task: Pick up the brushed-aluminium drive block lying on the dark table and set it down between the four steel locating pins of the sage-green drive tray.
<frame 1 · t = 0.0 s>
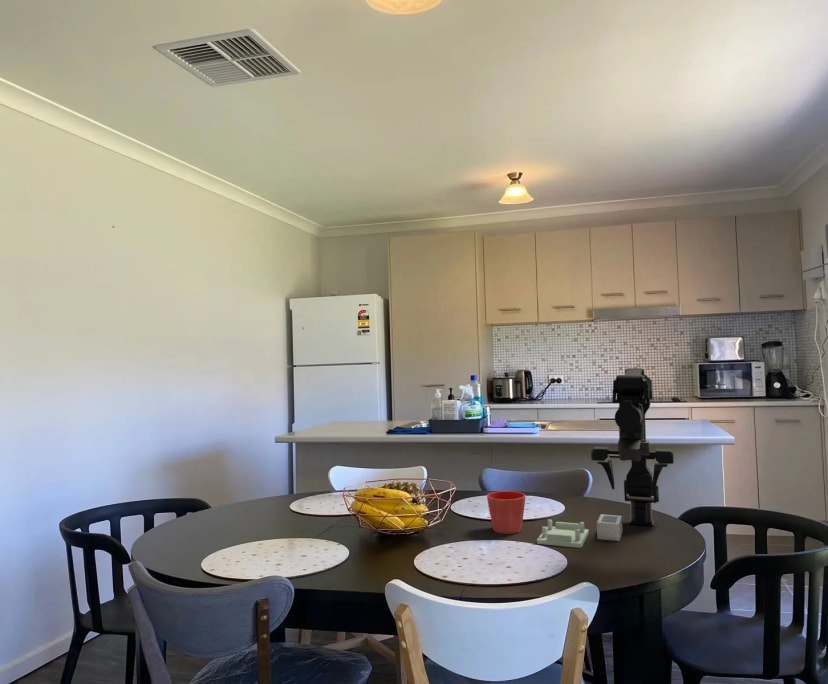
hand: (633, 490, 151), 15 cm above the table, fingers open, 9 cm apart
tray: (563, 538, 163), on the table
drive: (610, 536, 165), on the table
flower pot: (506, 530, 172), on the table
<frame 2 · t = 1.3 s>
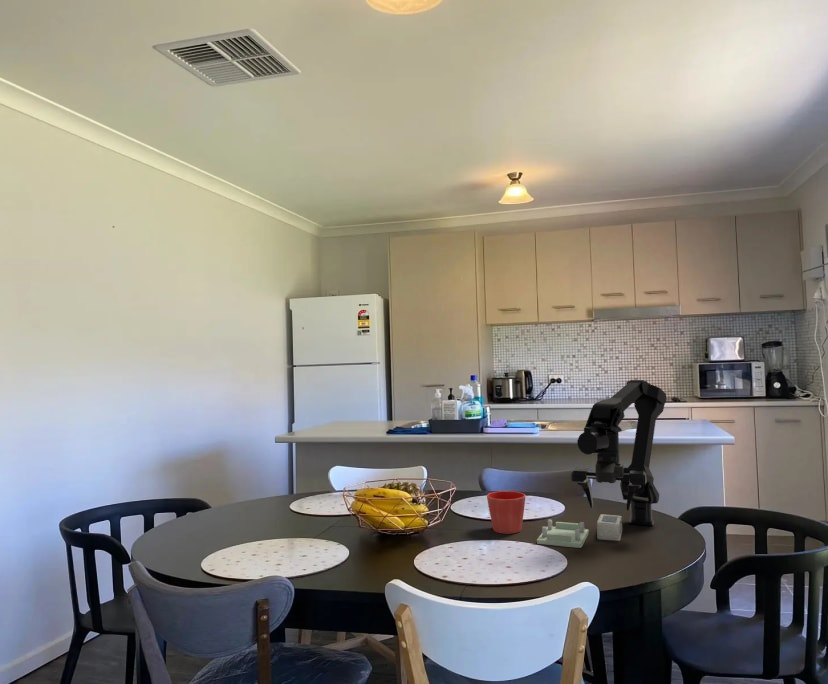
hand: (609, 508, 165), 7 cm above the table, fingers open, 9 cm apart
nothing on the table moved.
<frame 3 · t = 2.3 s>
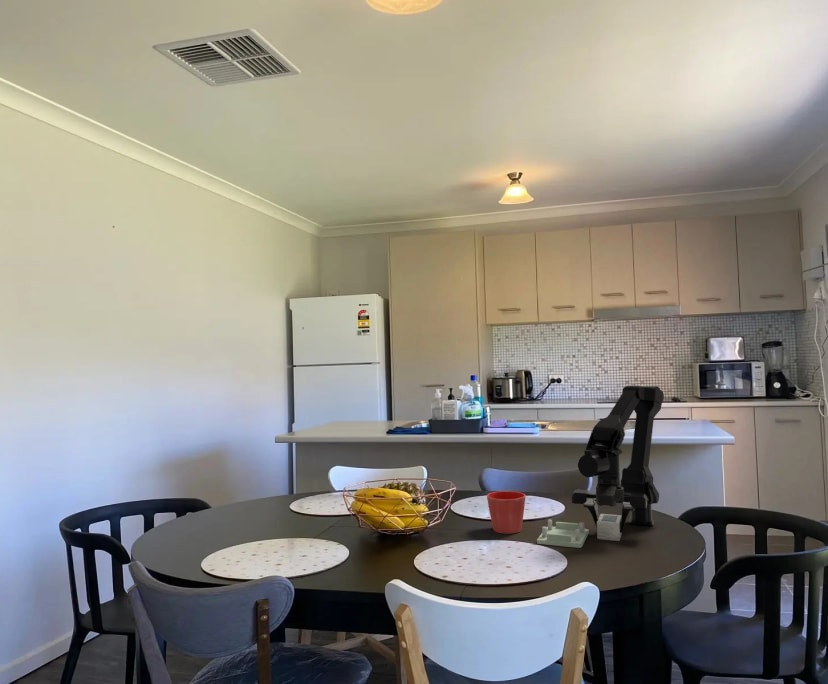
hand: (609, 531, 165), 1 cm above the table, fingers closed on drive, 5 cm apart
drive: (610, 535, 165), on the table, touching gripper
everything else where it was.
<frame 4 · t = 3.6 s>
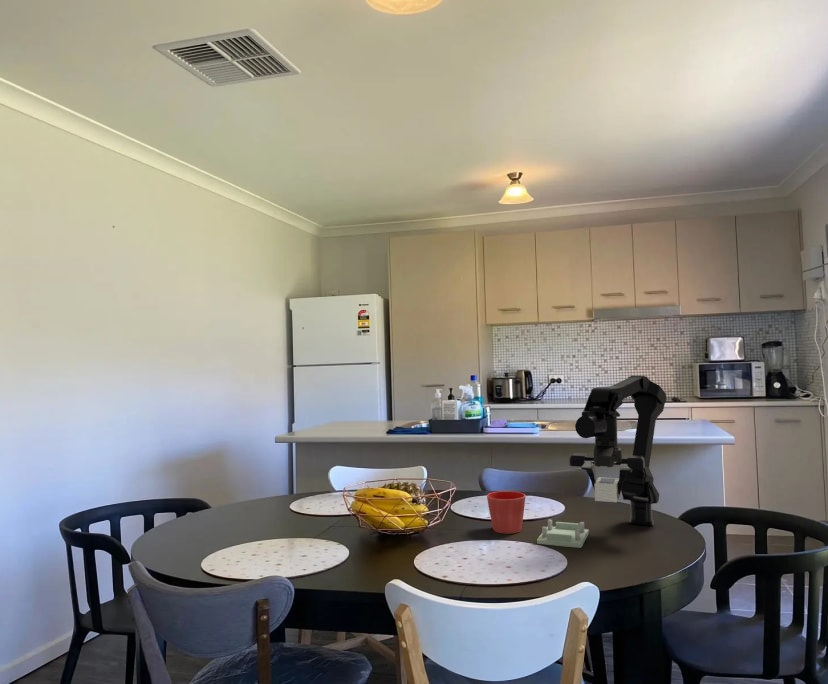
hand: (607, 493, 165), 11 cm above the table, fingers closed on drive, 5 cm apart
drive: (607, 497, 165), point 10 cm above the table, touching gripper
everything else where it was.
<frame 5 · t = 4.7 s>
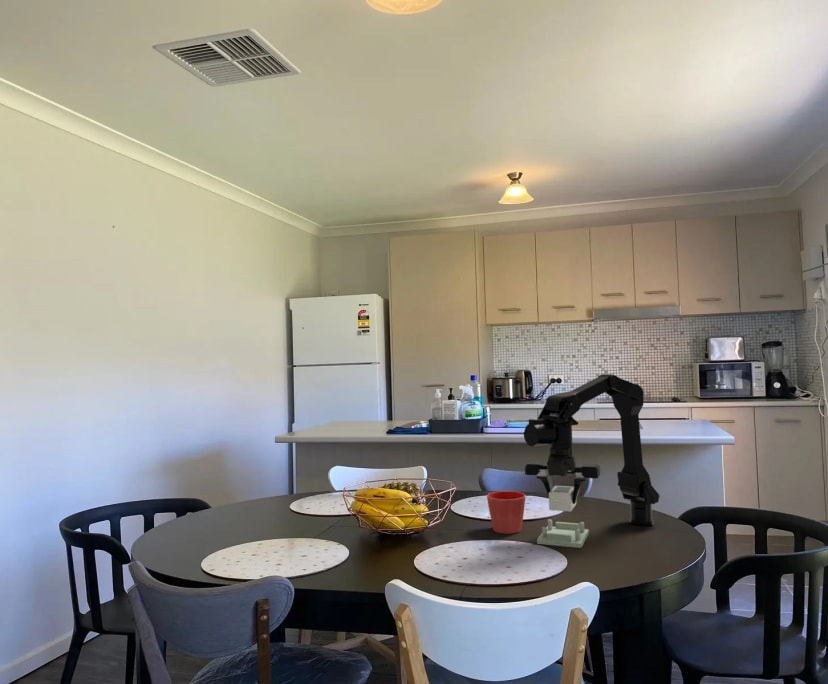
hand: (563, 502, 163), 9 cm above the table, fingers closed on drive, 5 cm apart
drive: (563, 506, 163), point 8 cm above the table, touching gripper
everything else where it was.
when the fingers open (4 cm above the table, at t = 6.4 s): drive drops 2 cm, resting on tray.
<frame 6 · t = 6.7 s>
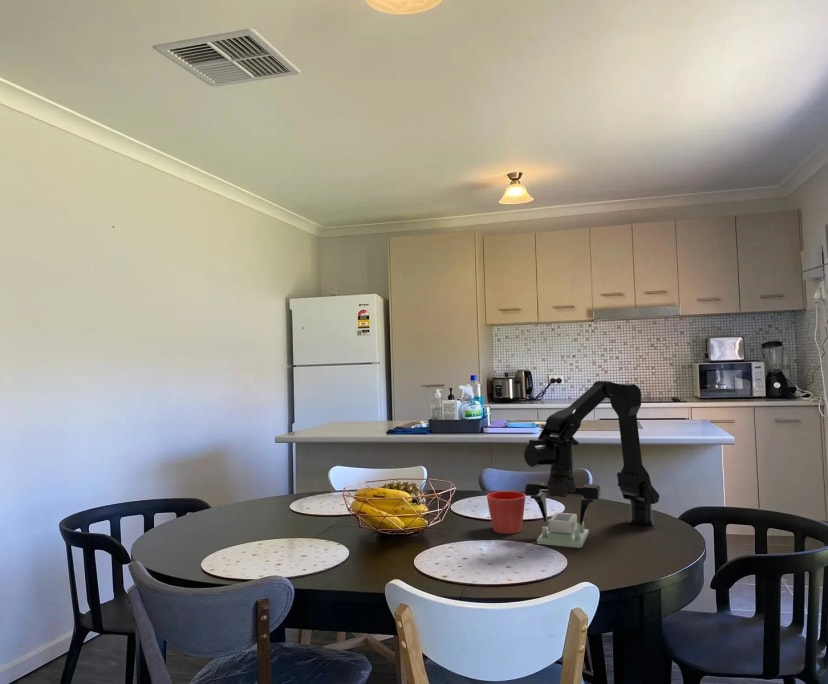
hand: (563, 522, 163), 4 cm above the table, fingers open, 9 cm apart
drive: (563, 534, 163), point 1 cm above the table, touching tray
everything else where it was.
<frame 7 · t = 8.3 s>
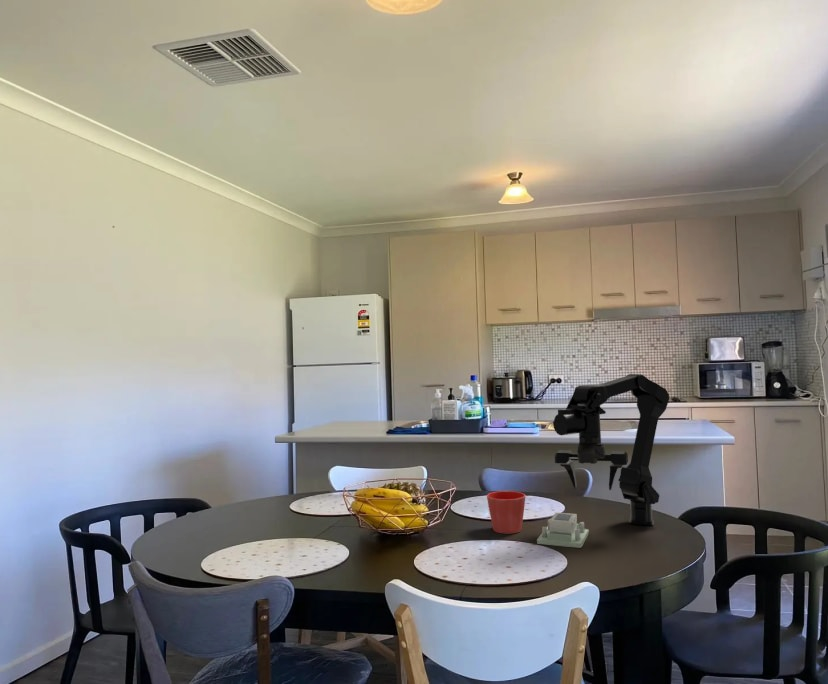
hand: (592, 489, 169), 11 cm above the table, fingers open, 9 cm apart
nothing on the table moved.
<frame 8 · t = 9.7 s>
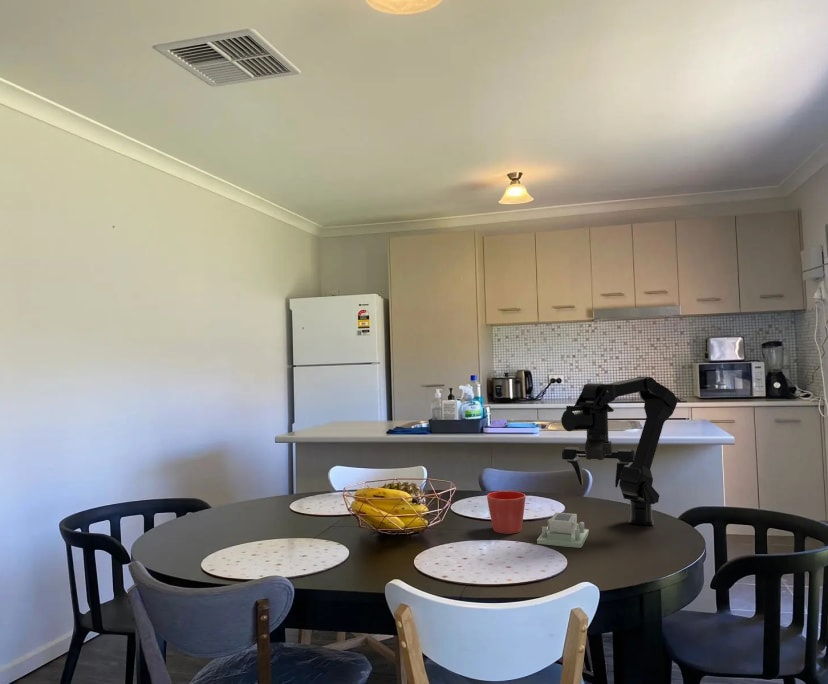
hand: (598, 486, 170), 12 cm above the table, fingers open, 9 cm apart
nothing on the table moved.
at the end: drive 0.1 cm off-centre on the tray, point 1.0 cm above the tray's base; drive tilted 0°; the gripper is holding nothing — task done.
